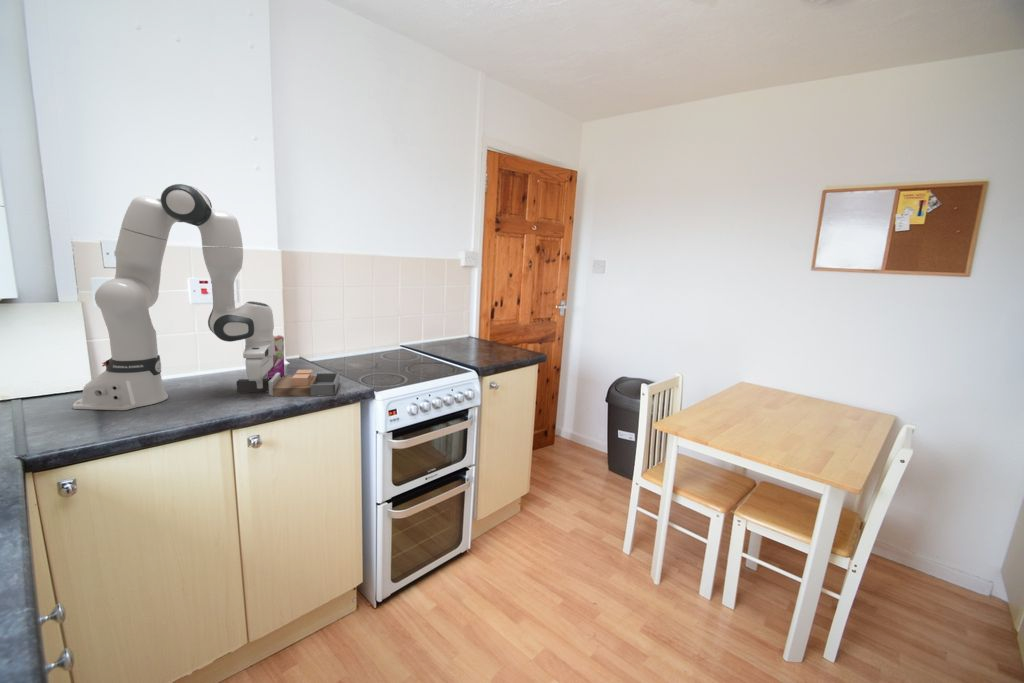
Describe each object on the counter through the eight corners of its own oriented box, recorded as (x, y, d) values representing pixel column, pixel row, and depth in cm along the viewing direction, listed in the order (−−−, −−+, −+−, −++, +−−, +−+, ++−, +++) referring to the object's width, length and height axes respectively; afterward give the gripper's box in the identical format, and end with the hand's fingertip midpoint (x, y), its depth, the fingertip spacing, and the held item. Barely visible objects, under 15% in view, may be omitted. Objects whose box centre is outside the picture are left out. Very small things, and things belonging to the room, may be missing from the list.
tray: (310, 396, 155) (310, 385, 154) (317, 383, 170) (317, 373, 169) (335, 395, 157) (335, 384, 156) (339, 382, 172) (339, 372, 171)
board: (272, 396, 152) (272, 388, 151) (282, 384, 166) (282, 376, 165) (310, 395, 155) (310, 387, 154) (317, 383, 169) (316, 376, 169)
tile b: (295, 381, 160) (295, 373, 160) (298, 377, 165) (298, 369, 165) (310, 381, 162) (310, 373, 161) (312, 377, 167) (312, 369, 166)
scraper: (233, 396, 150) (232, 382, 149) (243, 386, 161) (242, 373, 160) (273, 395, 153) (272, 381, 152) (280, 385, 164) (280, 372, 163)
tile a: (292, 386, 154) (292, 378, 154) (295, 382, 159) (294, 374, 159) (307, 386, 156) (307, 377, 155) (310, 382, 161) (309, 374, 160)
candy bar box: (256, 381, 167) (253, 339, 164) (249, 379, 170) (247, 337, 167) (285, 376, 176) (284, 336, 173) (279, 374, 179) (277, 334, 176)
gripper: (258, 342, 163) (259, 378, 166) (241, 354, 144) (243, 395, 147) (277, 342, 165) (278, 378, 168) (262, 354, 146) (264, 394, 148)
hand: (262, 386), depth 157 cm, fingers open, 3 cm apart
